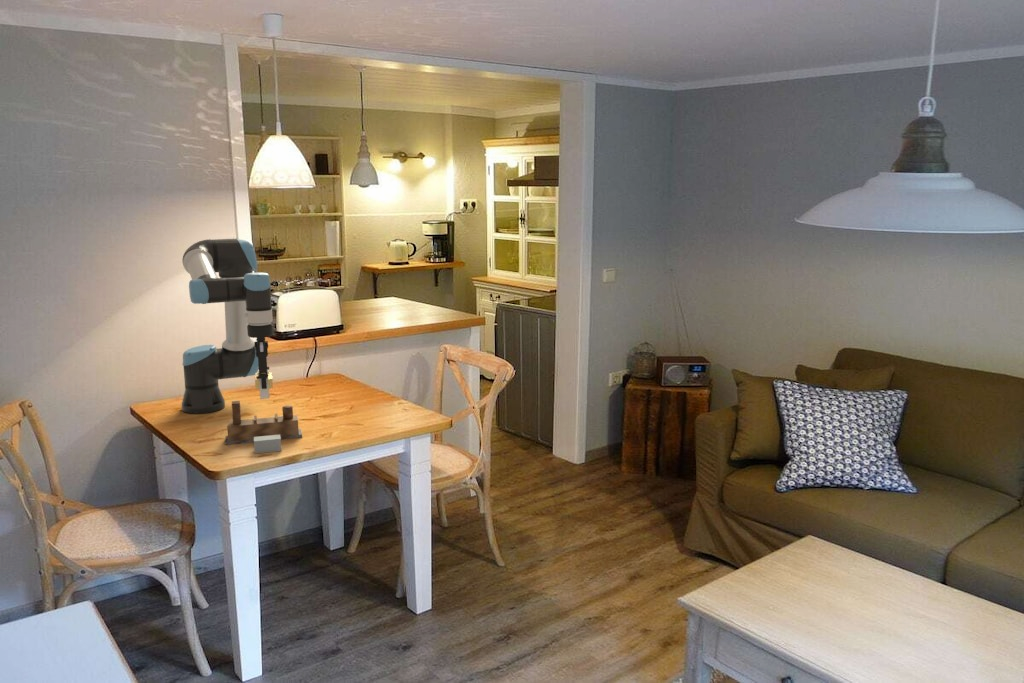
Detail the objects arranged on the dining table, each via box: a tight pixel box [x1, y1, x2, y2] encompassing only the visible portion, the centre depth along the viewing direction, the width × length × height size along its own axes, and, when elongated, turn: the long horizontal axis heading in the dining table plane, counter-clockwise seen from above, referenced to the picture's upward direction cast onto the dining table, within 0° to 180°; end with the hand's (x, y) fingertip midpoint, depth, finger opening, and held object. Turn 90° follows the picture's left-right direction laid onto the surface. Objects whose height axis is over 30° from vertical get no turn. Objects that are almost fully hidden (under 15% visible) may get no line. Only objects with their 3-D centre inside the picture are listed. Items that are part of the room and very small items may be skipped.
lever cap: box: [254, 371, 274, 390], centre depth 237 cm, size 5×9×4 cm, turn 19°
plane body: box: [224, 400, 303, 446], centre depth 251 cm, size 24×6×13 cm, turn 109°
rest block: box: [253, 435, 282, 454], centre depth 241 cm, size 4×8×4 cm, turn 109°
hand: (264, 394), depth 238 cm, fingers closed on lever cap, 9 cm apart
